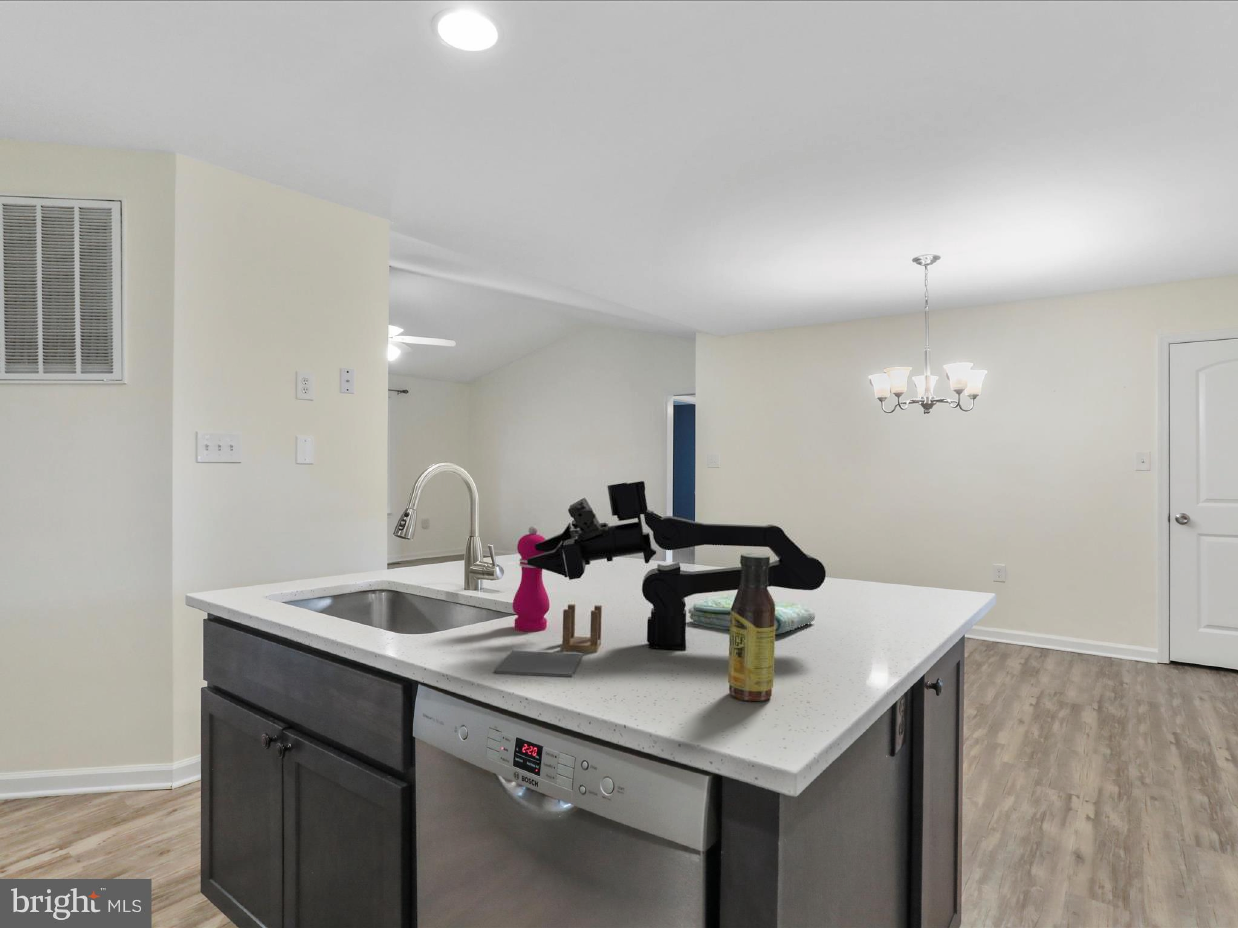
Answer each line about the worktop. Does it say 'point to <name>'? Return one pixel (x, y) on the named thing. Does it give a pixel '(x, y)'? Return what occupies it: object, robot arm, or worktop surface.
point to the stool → (581, 642)
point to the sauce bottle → (752, 632)
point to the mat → (539, 663)
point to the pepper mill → (530, 587)
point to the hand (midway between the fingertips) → (531, 554)
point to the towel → (719, 611)
